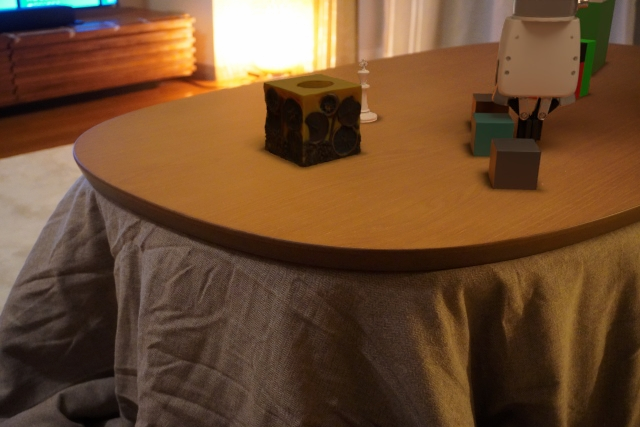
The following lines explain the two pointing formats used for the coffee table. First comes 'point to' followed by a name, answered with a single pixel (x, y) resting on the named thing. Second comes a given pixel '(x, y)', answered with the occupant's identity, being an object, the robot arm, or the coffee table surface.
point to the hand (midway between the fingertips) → (527, 145)
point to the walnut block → (486, 105)
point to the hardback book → (597, 27)
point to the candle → (312, 119)
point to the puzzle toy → (584, 67)
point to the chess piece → (363, 77)
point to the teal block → (489, 131)
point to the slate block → (514, 163)
